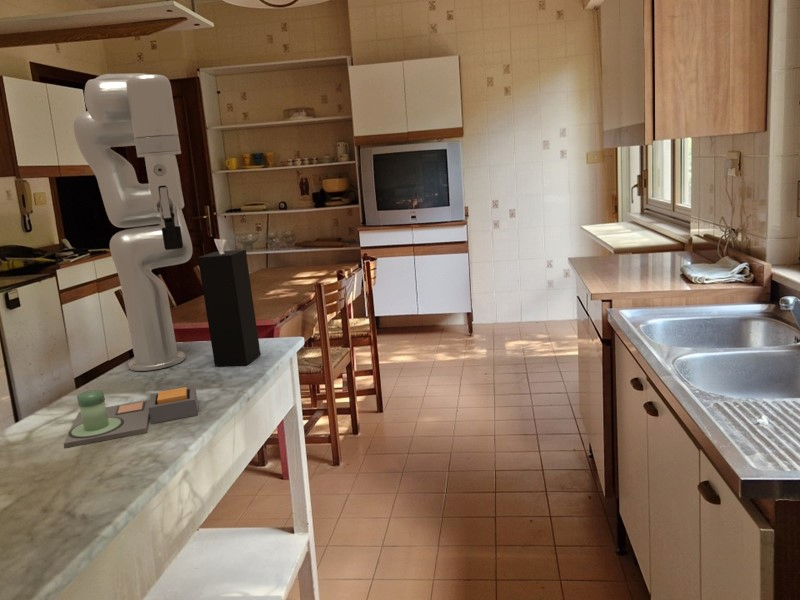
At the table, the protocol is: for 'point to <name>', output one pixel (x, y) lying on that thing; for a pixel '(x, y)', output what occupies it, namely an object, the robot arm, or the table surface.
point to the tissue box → (229, 306)
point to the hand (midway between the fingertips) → (174, 248)
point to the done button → (172, 395)
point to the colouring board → (112, 424)
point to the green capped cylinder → (93, 410)
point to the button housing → (173, 407)
